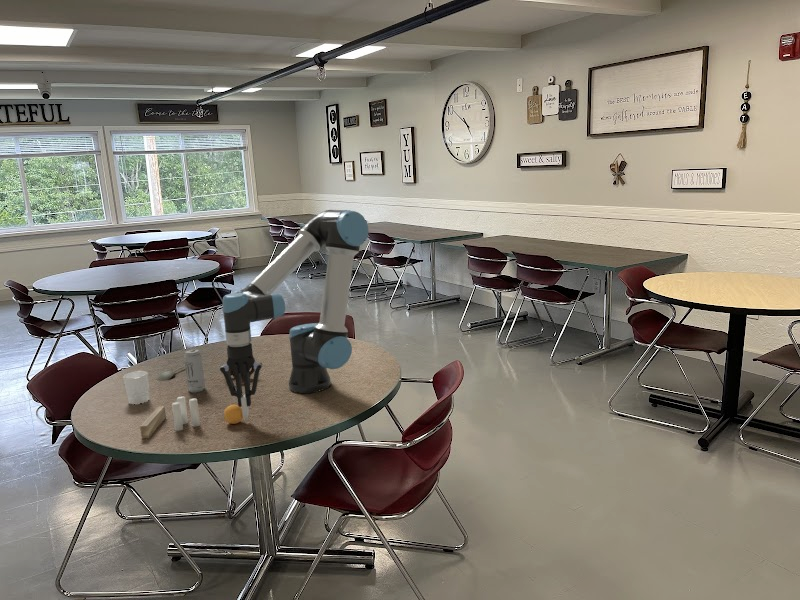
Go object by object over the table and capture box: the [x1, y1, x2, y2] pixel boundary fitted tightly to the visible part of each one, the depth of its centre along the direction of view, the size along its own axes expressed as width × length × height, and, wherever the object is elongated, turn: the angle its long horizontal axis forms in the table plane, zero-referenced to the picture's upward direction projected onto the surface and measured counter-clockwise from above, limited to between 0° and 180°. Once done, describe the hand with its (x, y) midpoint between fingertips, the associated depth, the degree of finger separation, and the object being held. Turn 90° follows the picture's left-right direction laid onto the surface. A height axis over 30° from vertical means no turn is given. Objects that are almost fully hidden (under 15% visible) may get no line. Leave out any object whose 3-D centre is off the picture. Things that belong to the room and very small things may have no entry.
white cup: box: [123, 370, 150, 405], centre depth 213 cm, size 8×8×10 cm
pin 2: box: [171, 401, 184, 432], centre depth 187 cm, size 2×2×8 cm
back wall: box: [139, 405, 167, 439], centre depth 190 cm, size 2×16×4 cm, turn 3°
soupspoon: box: [156, 365, 185, 382], centre depth 245 cm, size 22×3×7 cm
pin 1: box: [176, 396, 189, 425], centre depth 192 cm, size 2×2×8 cm
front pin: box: [188, 397, 201, 428], centre depth 190 cm, size 2×2×8 cm
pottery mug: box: [229, 365, 255, 384], centre depth 232 cm, size 12×10×8 cm
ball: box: [223, 404, 244, 425], centre depth 190 cm, size 6×6×6 cm
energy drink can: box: [183, 348, 206, 393], centre depth 221 cm, size 6×6×15 cm
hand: (245, 415), depth 190 cm, fingers closed
